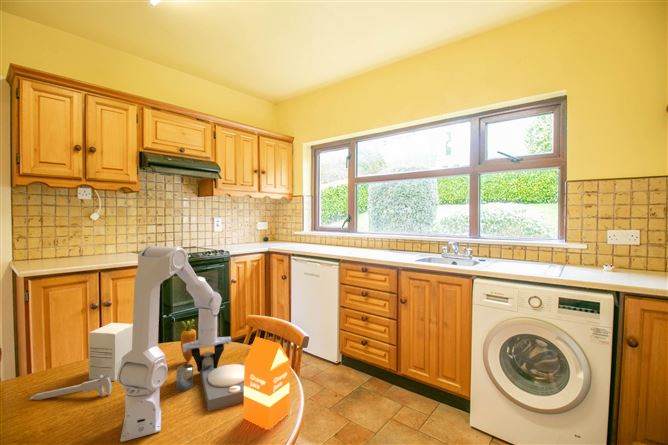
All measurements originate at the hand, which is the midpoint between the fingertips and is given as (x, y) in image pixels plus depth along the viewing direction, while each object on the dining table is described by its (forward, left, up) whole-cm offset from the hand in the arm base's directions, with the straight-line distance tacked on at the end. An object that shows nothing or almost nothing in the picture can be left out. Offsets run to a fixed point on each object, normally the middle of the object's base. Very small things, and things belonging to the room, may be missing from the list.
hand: (207, 368), depth 101 cm
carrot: (+11, +5, -2) cm, 12 cm away
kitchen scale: (-13, -5, -1) cm, 14 cm away
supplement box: (+13, +27, -2) cm, 30 cm away
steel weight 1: (-6, +7, -2) cm, 9 cm away
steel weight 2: (0, 0, -1) cm, 1 cm away
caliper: (+3, +35, -2) cm, 35 cm away
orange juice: (-30, -11, -2) cm, 32 cm away
